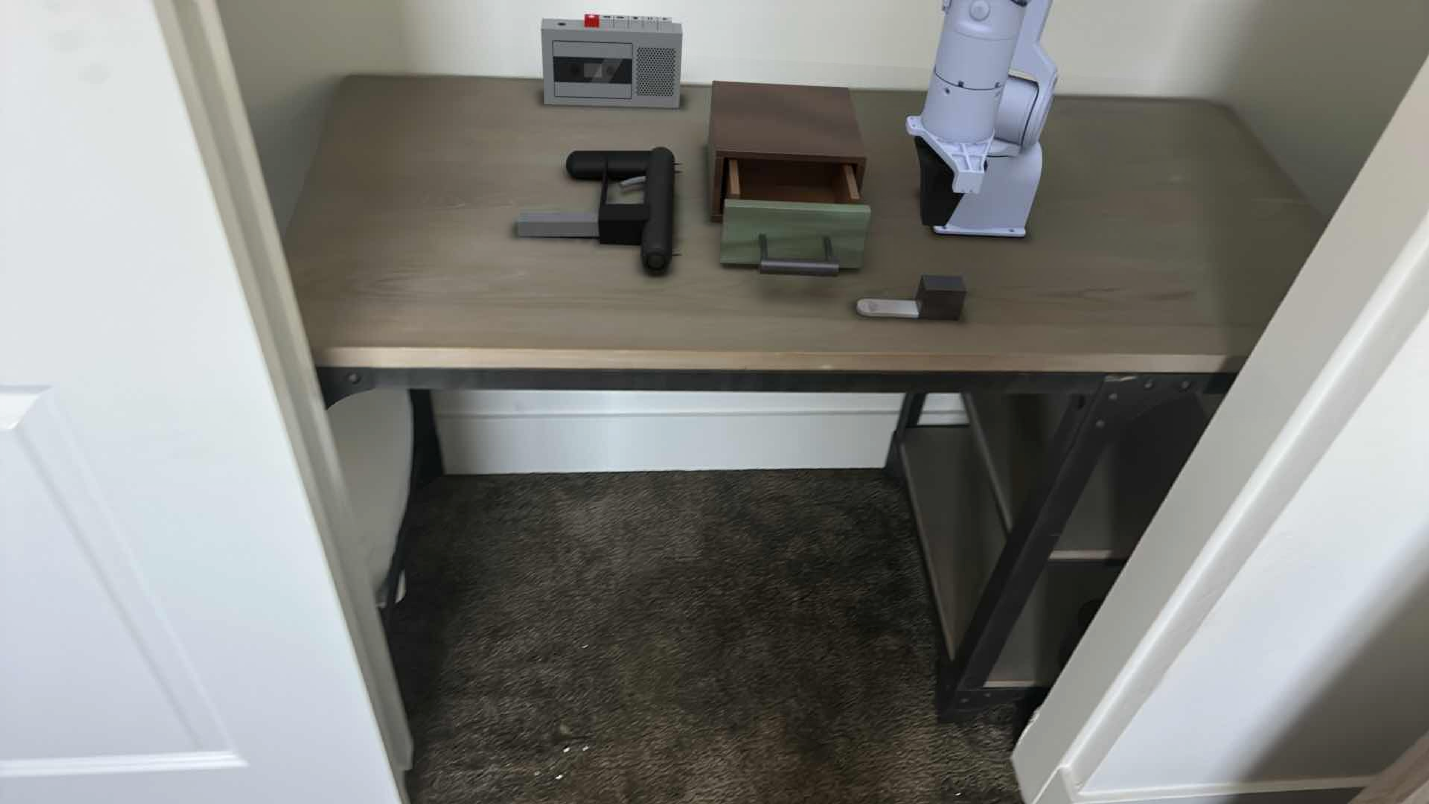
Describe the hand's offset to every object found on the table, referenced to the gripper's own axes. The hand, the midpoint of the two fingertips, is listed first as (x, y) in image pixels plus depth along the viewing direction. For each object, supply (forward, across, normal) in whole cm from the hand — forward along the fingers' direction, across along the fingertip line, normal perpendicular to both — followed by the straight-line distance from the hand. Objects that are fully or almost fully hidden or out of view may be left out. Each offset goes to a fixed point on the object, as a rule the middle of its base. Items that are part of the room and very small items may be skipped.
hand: (933, 221), depth 90 cm
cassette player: (+10, -36, -31) cm, 49 cm away
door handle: (+10, -12, -30) cm, 33 cm away
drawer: (+8, -8, -11) cm, 16 cm away
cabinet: (+9, -20, -12) cm, 25 cm away
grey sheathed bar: (+9, +1, -1) cm, 9 cm away
